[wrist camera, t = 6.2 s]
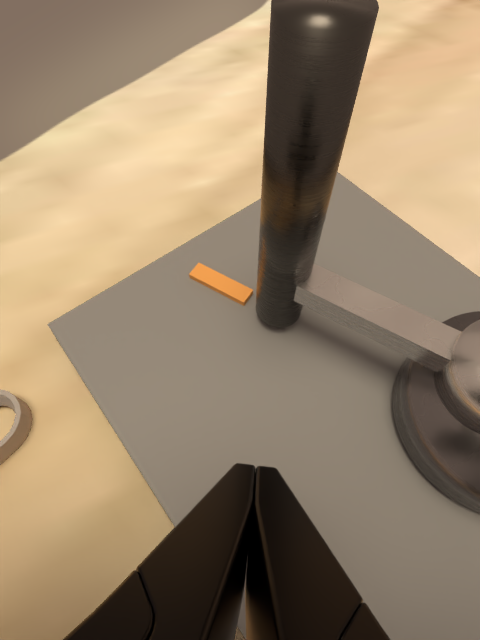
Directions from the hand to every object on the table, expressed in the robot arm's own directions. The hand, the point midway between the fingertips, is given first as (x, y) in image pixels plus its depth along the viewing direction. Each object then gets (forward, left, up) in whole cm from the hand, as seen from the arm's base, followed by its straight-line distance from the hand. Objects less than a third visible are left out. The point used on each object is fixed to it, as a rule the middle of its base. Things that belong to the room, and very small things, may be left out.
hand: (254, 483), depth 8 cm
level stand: (+1, -6, -8) cm, 10 cm away
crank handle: (-1, -7, -6) cm, 10 cm away
